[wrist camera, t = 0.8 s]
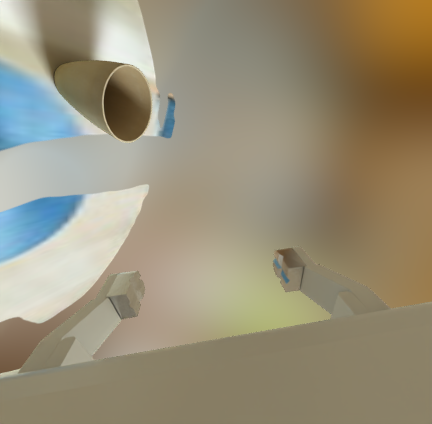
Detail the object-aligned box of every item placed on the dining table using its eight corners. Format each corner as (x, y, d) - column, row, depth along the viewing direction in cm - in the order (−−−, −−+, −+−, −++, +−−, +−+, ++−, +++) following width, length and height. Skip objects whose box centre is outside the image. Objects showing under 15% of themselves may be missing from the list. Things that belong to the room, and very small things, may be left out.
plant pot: (96, 124, 49) (144, 145, 47) (31, 108, 35) (97, 137, 33) (104, 63, 44) (158, 85, 42) (33, 16, 30) (109, 45, 28)
